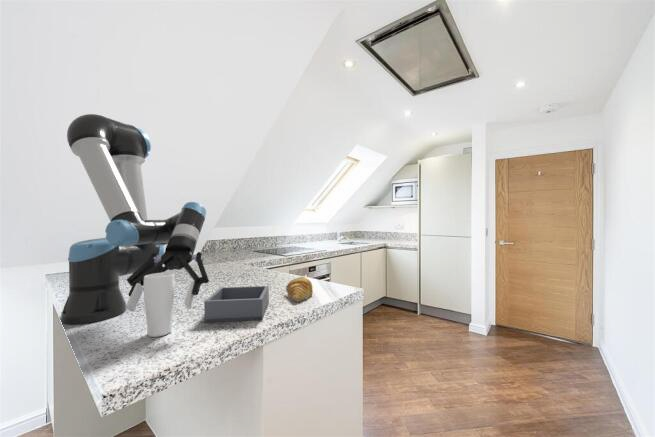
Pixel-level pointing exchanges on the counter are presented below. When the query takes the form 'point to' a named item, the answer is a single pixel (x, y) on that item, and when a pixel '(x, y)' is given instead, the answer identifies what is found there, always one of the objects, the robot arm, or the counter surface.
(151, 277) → the white plastic tumbler
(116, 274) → the robot arm
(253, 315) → the bin
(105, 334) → the counter surface
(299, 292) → the croissant
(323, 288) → the counter surface
